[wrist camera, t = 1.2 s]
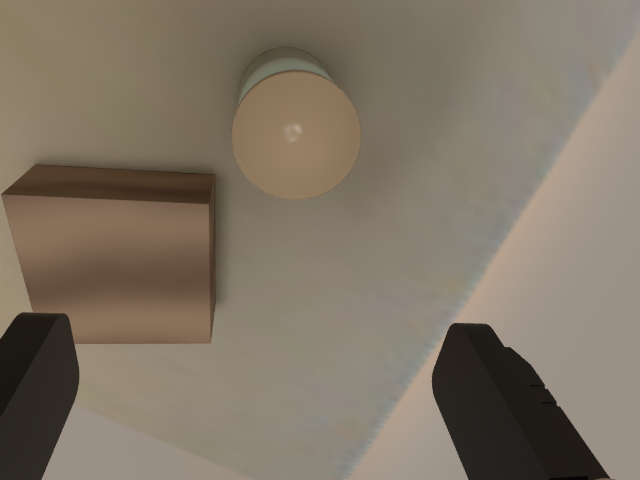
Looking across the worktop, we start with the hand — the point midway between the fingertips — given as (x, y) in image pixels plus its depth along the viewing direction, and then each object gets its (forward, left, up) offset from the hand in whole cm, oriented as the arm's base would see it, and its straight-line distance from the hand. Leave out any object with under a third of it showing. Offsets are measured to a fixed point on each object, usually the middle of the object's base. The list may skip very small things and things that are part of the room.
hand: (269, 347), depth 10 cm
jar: (-1, +1, -19) cm, 19 cm away
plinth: (+9, -8, -19) cm, 22 cm away
